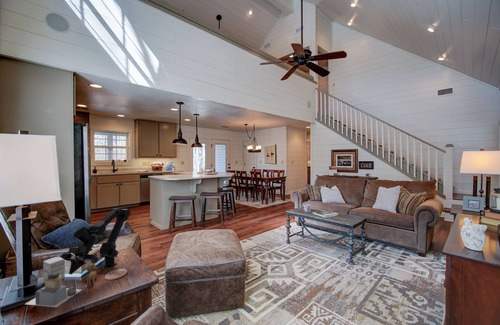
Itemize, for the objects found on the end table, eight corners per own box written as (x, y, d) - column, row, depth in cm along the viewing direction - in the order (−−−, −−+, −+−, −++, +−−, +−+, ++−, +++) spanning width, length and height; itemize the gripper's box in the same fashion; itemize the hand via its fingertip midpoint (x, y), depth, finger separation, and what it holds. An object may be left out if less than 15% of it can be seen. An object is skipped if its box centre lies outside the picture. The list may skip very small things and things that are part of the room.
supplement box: (42, 282, 125) (42, 261, 125) (58, 276, 132) (58, 255, 132) (49, 286, 122) (49, 263, 122) (65, 279, 129) (65, 258, 129)
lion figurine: (85, 279, 130) (85, 264, 130) (96, 276, 133) (96, 261, 133) (86, 291, 118) (86, 274, 118) (98, 287, 122) (98, 271, 121)
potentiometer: (68, 292, 115) (68, 286, 115) (77, 291, 116) (76, 284, 116) (66, 296, 112) (66, 290, 112) (75, 294, 113) (74, 288, 113)
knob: (53, 295, 112) (53, 271, 112) (62, 296, 111) (62, 272, 111) (44, 301, 108) (44, 276, 107) (53, 302, 107) (53, 277, 107)
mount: (53, 289, 120) (53, 274, 119) (82, 291, 118) (82, 277, 118) (24, 306, 106) (24, 290, 105) (56, 309, 104) (56, 293, 104)
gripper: (63, 238, 124) (43, 267, 113) (93, 240, 122) (76, 270, 111) (76, 246, 132) (58, 274, 121) (104, 248, 130) (89, 277, 119)
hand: (70, 274), depth 118 cm, fingers closed
